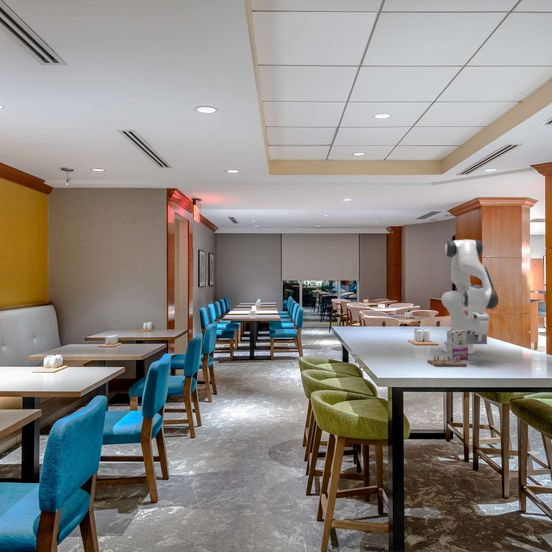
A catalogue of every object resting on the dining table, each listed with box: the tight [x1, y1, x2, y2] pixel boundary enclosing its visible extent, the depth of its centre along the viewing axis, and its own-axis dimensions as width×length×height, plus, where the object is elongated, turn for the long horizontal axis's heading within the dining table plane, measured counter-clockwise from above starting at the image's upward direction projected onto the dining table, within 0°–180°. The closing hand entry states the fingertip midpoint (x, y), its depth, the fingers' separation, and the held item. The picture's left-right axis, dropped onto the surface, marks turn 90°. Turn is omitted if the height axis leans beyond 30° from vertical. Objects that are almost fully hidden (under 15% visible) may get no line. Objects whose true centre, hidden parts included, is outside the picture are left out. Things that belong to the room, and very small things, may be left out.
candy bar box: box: [446, 330, 469, 361], centre depth 271 cm, size 11×5×16 cm, turn 112°
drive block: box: [466, 333, 488, 345], centre depth 255 cm, size 5×9×5 cm, turn 93°
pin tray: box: [426, 354, 467, 368], centre depth 253 cm, size 14×16×4 cm
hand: (476, 340), depth 254 cm, fingers closed on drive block, 5 cm apart
